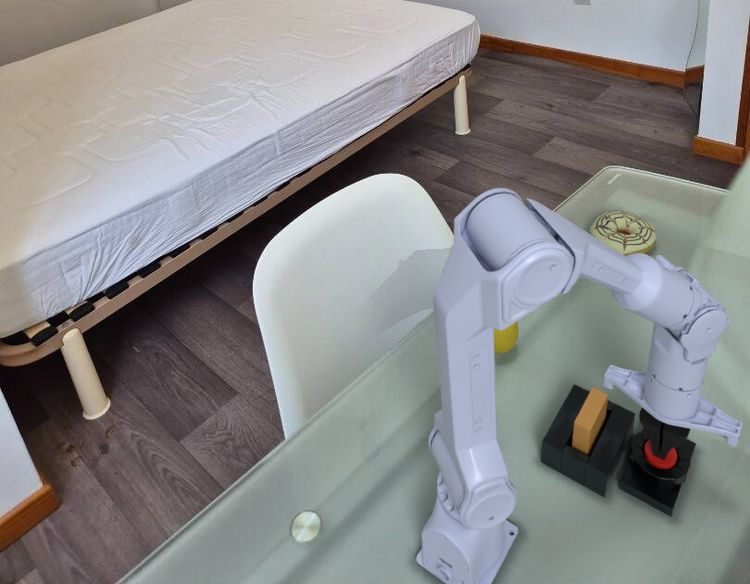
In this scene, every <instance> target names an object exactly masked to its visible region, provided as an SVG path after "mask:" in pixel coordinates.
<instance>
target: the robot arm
mask: <svg viewBox="0 0 750 584" xmlns="http://www.w3.org/2000/svg"><path fill="white" fill-rule="evenodd" d="M525 199H526V202H527V205H528V207H527V206H526V204H525V203H524V201H523V199H522V198H521V196H520V195H519V194H518V193H517V192H515V190H512V189H510V188H506V187H496V188H491V189H489V190H486V191H484V192H482V193H481V194H479V195H477V196H476V197H475V198H474V199H473V200H471V202H470V203H469V204H468V205H466V207H464V209H462V210H461V211H460V212H459V214H457V215H456V216H455V217H454V219H453V243H452V246H451V249H450V251H449V253H448V256H447V258H446V261H445V263H444V266H443V268H442V270H441V273H440V276H439V278H438V280H437V283H436V286H435V289H434V291H433V298H432V302H433V303H432V304H433V314H434V326H435V340H436V351H437V361H438V363H437V364H438V365H437V366H438V376H439V377H438V378H439V388H440V398H441V400H440V401H441V409H439V410H438V411H437V412H435V413H434V414H433V426H432V429H431V431H430V432H429V435H428V438H427V446H428V449H429V450H430V452H431V454H432V455H433V457H434V459H435V461H436V464H437V466H438V469H439V470H438V473H437V482H436V483H437V484H436V489H437V490H436V499H435V503H434V507H433V509H432V512H431V514H430V516H429V517H428V520H427V521H426V523H425V524H424V526H423V528H422V531H421V535H420V536H421V548H420V550H419V551H418V553H417V554H416V557H415V560H416V563H417V564H418V565H419V566H421V567H422V568H423V569H425V570H426V571H428V572H429V573H431V574H432V575H433V576H434V577H436V578H437V579H439V580H440V581H441V582H443V583H444V584H493V582H494V580H495V578H496V576H497V574H498V572H499V570H500V568H501V567H502V565H503V563H504V561H505V559H506V557H507V556H508V553H509V551H510V549H511V548H512V546H513V544H514V542H515V540H516V538H517V536H518V534H519V527H518V526H517V525H515V524H514V523H512V522H511V521H509V520H507V519H508V518H509V517H510V516H511V514H512V513H513V511H514V510H515V507H516V505H517V503H518V499H519V494H518V490H517V488H516V486H515V485H514V484H513V483H512V482H511V480H510V473H509V469H508V467H507V463H506V461H505V457H504V455H503V452H502V448H501V446H500V443H499V440H498V425H497V423H498V422H497V421H498V420H497V389H496V388H497V387H496V361H495V359H496V358H495V352H494V329H497V330H500V331H503V330H504V329H506V328H507V327H509V326H511V325H512V324H514V323H515V322H517V323H518V321H520V320H521V319H523V318H525V317H526V316H528V315H529V314H531V313H533V312H534V311H536V310H537V309H540V308H541V307H542V306H543V305H545V304H546V303H549V301H551V300H553V299H554V298H555V297H556V298H557V296H558V295H559V294H561V295H566V294H567V293H569V292H570V290H571V289H572V288H573V287H574V285H575V284H576V282H577V281H578V279H579V277H581V278H583V279H586V280H588V281H590V282H592V283H595V284H598V285H601V286H602V287H606V288H608V289H610V293H611V295H612V298H613V299H614V301H615V302H616V304H617V305H618V306H620V307H621V308H623V309H625V310H627V311H628V312H631V313H633V314H635V315H637V316H638V317H641V318H642V319H645V320H648V321H650V322H652V323H653V327H652V335H651V341H650V348H649V353H648V361H647V367H646V372H644V371H639V370H633V369H627V368H624V367H623V368H622V367H619V366H616V365H613V364H609V365H608V367H607V369H606V370H605V373H604V375H603V384H602V385H603V387H604V388H606V389H608V390H614V388H616V389H618V390H620V391H621V392H622V393H623V394H625V395H626V396H627V397H629V398H630V399H631V400H632V401H633V402H635V403H636V404H637V405H639V406H640V408H641V409H640V410H639V414H638V420H639V421H638V422H639V423H640V424H641V425H642V426H643V427H644V428H645V430H646V431H647V433H648V436H649V438H650V442H651V445H652V451H653V455H654V456H656V457H658V458H660V459H662V460H665V459H666V456H667V454H668V453H669V451H670V450H671V449H672V448H673V447H674V446H676V445H677V444H679V443H683V442H684V441H685V440H686V439H688V438H689V434H690V432H691V430H695V431H700V432H706V433H709V434H710V433H711V434H716V435H717V436H718V435H719V436H720V437H722V438H724V439H725V444H727V445H729V446H730V447H733V448H737V446H738V443H739V440H740V439H739V438H740V435H741V432H742V428H743V422H742V421H739V420H738V419H736V418H734V417H732V416H731V415H729V414H727V413H726V412H724V410H722V409H720V408H719V407H718V406H716V405H715V403H712V402H711V401H710V400H709V399H707V398H706V397H705V396H703V395H702V390H703V384H704V380H705V375H706V370H707V366H708V360H709V357H711V356H712V355H713V353H714V352H715V351H716V349H717V344H718V342H719V341H720V340H721V338H722V337H723V336H724V335H725V333H727V330H728V329H729V327H730V324H731V321H732V319H731V318H729V317H728V315H727V312H726V310H725V309H726V307H725V305H724V304H723V303H722V302H721V301H720V300H719V299H718V298H717V297H715V296H714V295H713V294H712V293H711V292H710V291H709V290H708V289H707V288H706V287H705V286H704V285H702V284H701V282H700V281H699V280H698V279H697V278H696V276H694V275H693V274H691V273H690V272H687V271H686V269H685V268H684V267H683V266H675V265H674V264H673V263H672V262H670V260H669V259H667V258H666V257H665V256H663V255H661V254H657V255H656V256H655V257H652V256H650V255H648V254H643V253H633V254H629V255H627V256H624V255H622V254H621V253H619V252H618V251H616V250H614V249H613V248H611V247H610V246H608V245H606V244H605V243H603V242H602V241H600V240H598V239H597V238H595V237H594V236H592V235H591V234H590V232H588V231H586V230H584V229H582V228H581V227H580V226H578V225H576V224H575V223H573V222H571V221H570V220H568V219H567V218H565V217H563V216H562V215H561V214H559V213H557V212H555V211H553V210H552V209H551V208H548V207H547V206H545V205H544V204H542V203H540V202H539V201H536V200H534V199H531V198H525Z"/></svg>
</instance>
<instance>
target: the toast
mask: <svg viewBox="0 0 750 584" xmlns="http://www.w3.org/2000/svg"><path fill="white" fill-rule="evenodd" d="M607 401H609V394H608V393H606V392H604V391H602V390H599V389H597V388H595V387H591V389H590V393H589V395H588V397H587V399H586V401H585V403H584V405H583V406H582V408H581V410H580V412H579V414H578V416H577V418H576V420H575V422H574V430H573V440H572V448H574V449H576V450H578V451H580V452H582V453H584V454H585V455H587V456H589V457H590V456H591V454H592V452H593V450H594V448H595V446H596V444H597V442H598V440H599V438H600V436H601V433H602V431H603V429H604V426H605V418H606V410H607Z"/></svg>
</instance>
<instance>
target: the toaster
mask: <svg viewBox="0 0 750 584" xmlns="http://www.w3.org/2000/svg"><path fill="white" fill-rule="evenodd" d="M590 391H591V390H590ZM590 391H589V390H588V389H585V388H583V387H582V386H579V385H577V384H575V383H573V385H572V387H571V388H570V390H569V392H568V394H567V396H566V397H565V399H564V401H563V403H562V404H561V407H560V409H559V410H558V412H557V414H556V415H555V418H554V419H553V421H552V423H551V425H550V426H549V428H548V430H547V432H546V433H545V435H544V437H543V439H542V440H541V453H540V454H541V455H540V463H541V464H543V465H545V466H547V467H548V468H550V469H552V470H554V471H555V472H558V473H559V474H560V475H562V476H564V477H567V478H568V479H570V480H572V481H574V482H575V483H577V484H579V485H581V486H582V487H584V488H586V489H588V490H589V491H592V492H593V493H595V494H597V495H599V496H601V497H602V498H606V496H607V494H608V491H609V489H610V486H611V485H612V482H613V480H614V478H615V475H616V473H617V470H618V469H619V466H620V464H621V461H622V459H623V457H624V454H625V452H626V451H627V448H628V446H629V443H630V441H631V438H632V436H633V432H634V427H635V426H634V425H635V420H636V419H635V418H636V413H635V412H634V411H632V410H630V409H627V408H625V407H623V406H621V405H619V404H618V403H615V402H612V401H610V400H608V401H607V410H606V418H605V426H604V429H603V431H602V433H601V436H600V438H599V440H598V442H597V444H596V446H595V448H594V450H593V452H592V454H591V456H590V457H589V456H587V455H585V454H584V453H582V452H580V451H578V450H576V449H574V448H572V440H573V430H574V422H575V420H576V418H577V416H578V414H579V412H580V410H581V408H582V406H583V405H584V403H585V401H586V399H587V397H588V395H589V393H590Z"/></svg>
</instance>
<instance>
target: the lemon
mask: <svg viewBox="0 0 750 584" xmlns="http://www.w3.org/2000/svg"><path fill="white" fill-rule="evenodd" d="M518 338H519V325H518V321H517V322H515V323H514V324H512V325H511V326H509V327H507V328H506V329H504V330H503V331H500V330H497V329H494V354H505V353H508V352H509V351H511V350H512V349H513V348H514V347H515V345H516V344H517V341H518Z"/></svg>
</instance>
